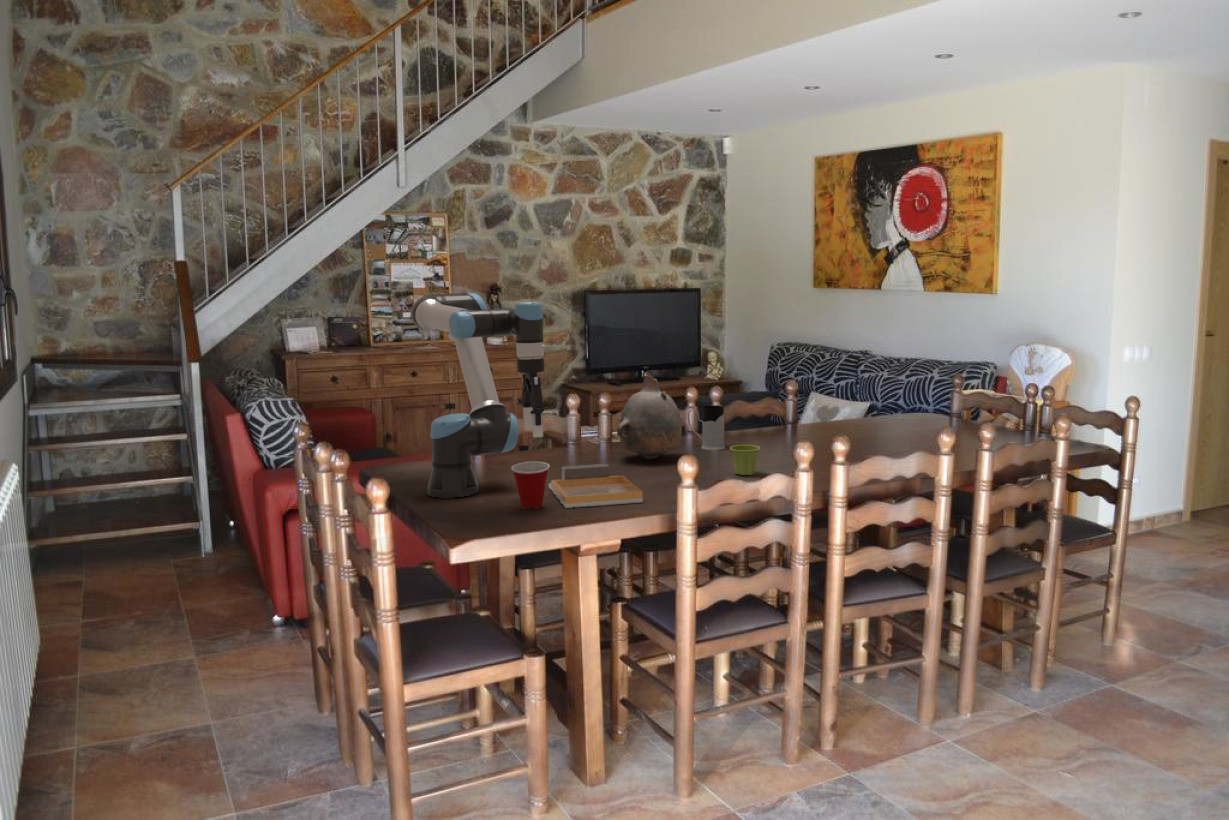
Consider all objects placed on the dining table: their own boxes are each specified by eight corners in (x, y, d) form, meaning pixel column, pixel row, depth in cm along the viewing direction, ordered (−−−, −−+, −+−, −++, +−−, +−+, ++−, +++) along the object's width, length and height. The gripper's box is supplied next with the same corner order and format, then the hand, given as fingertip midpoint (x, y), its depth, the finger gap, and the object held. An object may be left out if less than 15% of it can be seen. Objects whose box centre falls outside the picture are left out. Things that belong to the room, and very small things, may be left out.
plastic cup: (507, 511, 279) (506, 468, 278) (518, 501, 290) (516, 461, 288) (545, 512, 277) (544, 469, 276) (555, 502, 288) (553, 461, 286)
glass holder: (720, 450, 360) (720, 409, 358) (683, 448, 366) (683, 407, 364) (728, 446, 368) (728, 405, 366) (692, 444, 374) (691, 404, 372)
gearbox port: (565, 508, 282) (564, 486, 281) (548, 487, 308) (548, 467, 307) (642, 502, 287) (642, 481, 286) (619, 482, 313) (619, 462, 312)
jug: (663, 468, 331) (662, 378, 327) (606, 463, 342) (605, 375, 337) (694, 455, 352) (694, 370, 348) (640, 450, 363) (639, 367, 358)
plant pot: (758, 477, 316) (758, 450, 315) (728, 477, 318) (728, 450, 316) (760, 471, 325) (760, 445, 324) (731, 470, 327) (731, 444, 326)
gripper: (553, 360, 268) (555, 439, 271) (535, 354, 292) (538, 426, 295) (525, 361, 266) (528, 441, 269) (509, 355, 290) (512, 428, 293)
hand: (533, 433), depth 282 cm, fingers open, 13 cm apart
